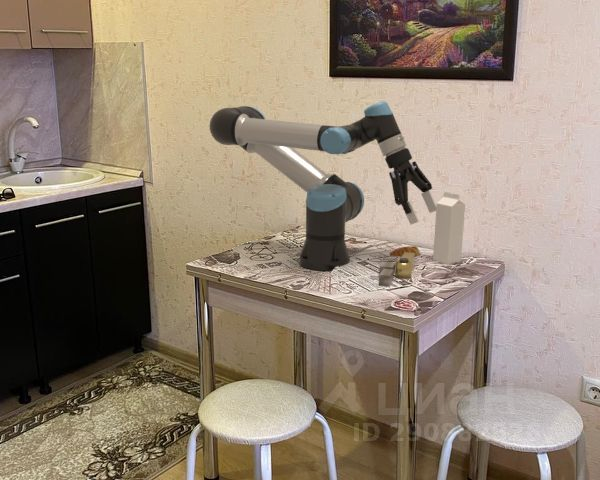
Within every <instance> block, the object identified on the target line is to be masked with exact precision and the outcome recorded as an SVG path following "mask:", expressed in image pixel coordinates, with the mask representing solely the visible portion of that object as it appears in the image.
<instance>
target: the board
mask: <svg viewBox="0 0 600 480" xmlns="http://www.w3.org/2000/svg"><path fill="white" fill-rule="evenodd" d="M399 260H400V261H399V262H401V263H408V259H407V258H401V257H400V258H399ZM378 267H379V268H378V269H379V272H378V286H381V287H382V286H383V287H390V286H391V284H392V282H393V281H394V276H395V268H396V262H390V261H382V262H381V264H379V266H378Z"/></svg>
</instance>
